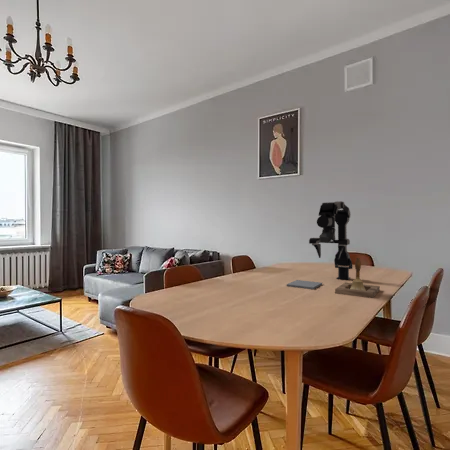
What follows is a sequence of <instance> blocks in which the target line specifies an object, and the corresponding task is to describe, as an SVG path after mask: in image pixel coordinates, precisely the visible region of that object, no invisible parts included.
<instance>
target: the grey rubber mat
mask: <svg viewBox="0 0 450 450" xmlns="http://www.w3.org/2000/svg"><path fill="white" fill-rule="evenodd" d="M322 285H323V282H319V281H311V280H301V279H300V280H299V279H296V280H293V281H291V282H289V283H286V287H290V288H297V289H308V290H315V289H317V288H319V287H321V286H322Z"/></svg>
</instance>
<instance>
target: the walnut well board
mask: <svg viewBox="0 0 450 450" xmlns="http://www.w3.org/2000/svg"><path fill="white" fill-rule="evenodd" d="M363 285H364V288H365V290H367V291H364V290H356V289H349V288H351V286H352V282H344V283H341V285H339V286H337V287H335V289H334V293H335V294H338V295H345V294H348V295H347V296H353V295H356V296H355V297H361V296H363V297H362V298H369V297H370V299H373V298H374V297H375V296H376V295H377V294H378V293H379V291H380V286H379V285H373V284H371V285H370V284H364V283H363ZM377 292H378V293H377ZM376 293H377V294H376Z"/></svg>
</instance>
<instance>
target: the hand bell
mask: <svg viewBox="0 0 450 450" xmlns="http://www.w3.org/2000/svg"><path fill="white" fill-rule="evenodd" d="M361 267H362V262H361V259H360V258H359V257H357V258H356V259H355V263H354V268H355V269H354V270H355V279H353V280H352V282H351V283H352V286H351V288H350V289H356V290H364V291H366V290H365V288H364V285H365V284H364V281H363V280H362V279H361V278H360V277H361V274H360V272H361V271H360V270H361V269H362V268H361ZM363 284H364V285H363Z"/></svg>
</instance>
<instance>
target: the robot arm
mask: <svg viewBox="0 0 450 450" xmlns="http://www.w3.org/2000/svg"><path fill="white" fill-rule="evenodd" d="M318 216H319V217H318V218H317V219H316V225H317V226H318V227H320V228H322V231H321V234H320V235H319V237H310V238H309V240H308V245H310V244H311V246H313V247H314V248H315V250H316V253H317V255H318V258H319V259H321V256H322V253H321V252H322V250H321V249H322V248H321V247H322V246H321V243H322V244H337V247H338V248H337V251H336V254H335V255H334V268H335V269H337V270H338V271H337V272H338V273H337V274H338V275H337V277H336V278H335V279H336V280H347V281H348V280H351V277H350V274H349V273H350V272H349V271H350V270H353V262H352V258H351V257H350V253H349V251H348V248H347V246H348V245H350V244H351V243H350V242H351V241H350V239H349V238H347V236H348V235H347V233H348V232H347V226H348V224H349V221H350V218H351V210H350V208H349V207H348V206H347V205H346V204H345V202H344V201H334V202H333V201H332V202H329V201H328V202H322V203H321V204H320V207H319V211H318ZM336 225H337V239H336Z"/></svg>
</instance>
